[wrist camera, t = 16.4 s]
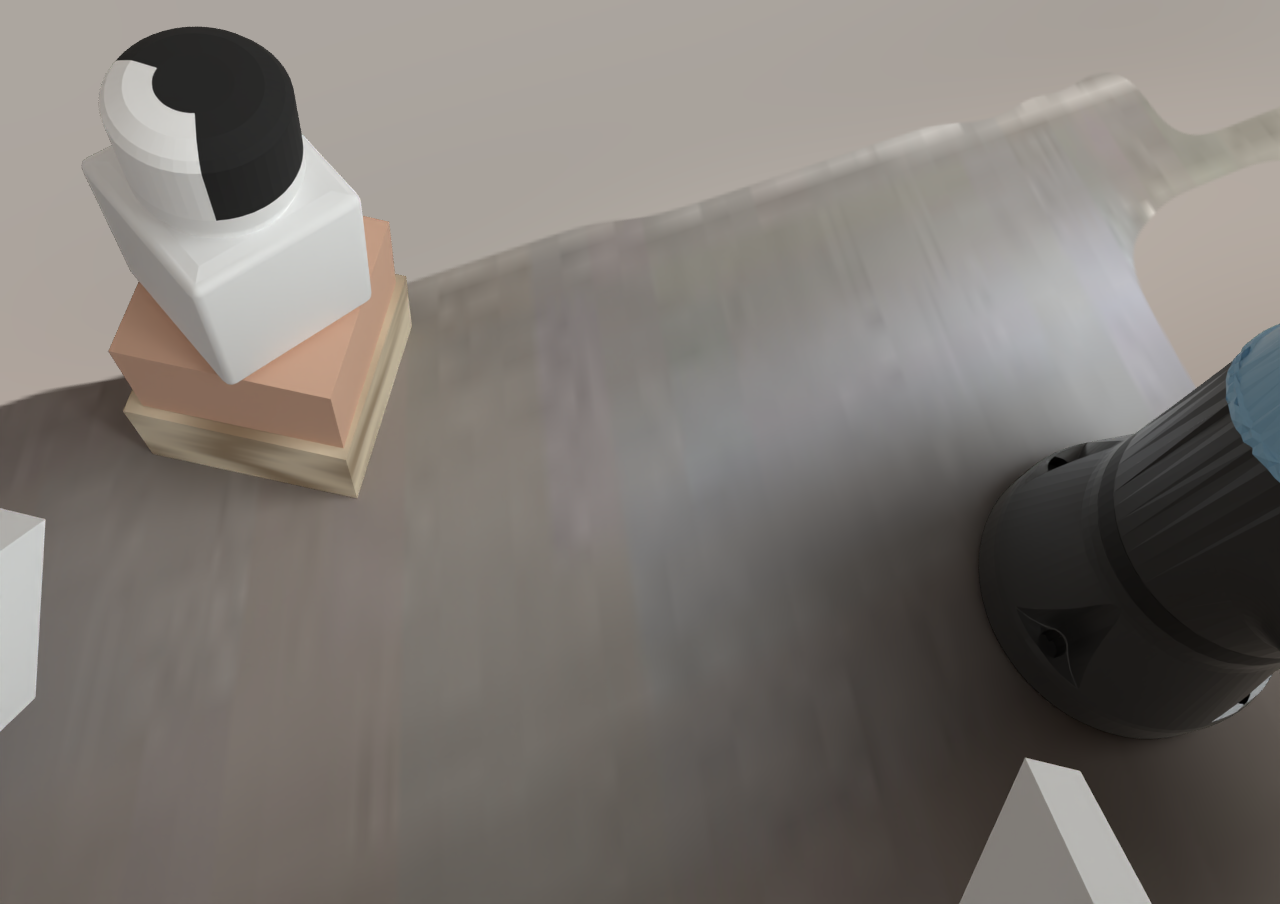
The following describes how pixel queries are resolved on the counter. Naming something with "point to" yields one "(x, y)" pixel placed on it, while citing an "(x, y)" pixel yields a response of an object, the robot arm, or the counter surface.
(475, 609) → the counter surface
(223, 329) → the medicine bottle
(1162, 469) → the robot arm
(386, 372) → the bottom block
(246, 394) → the top block
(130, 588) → the counter surface
